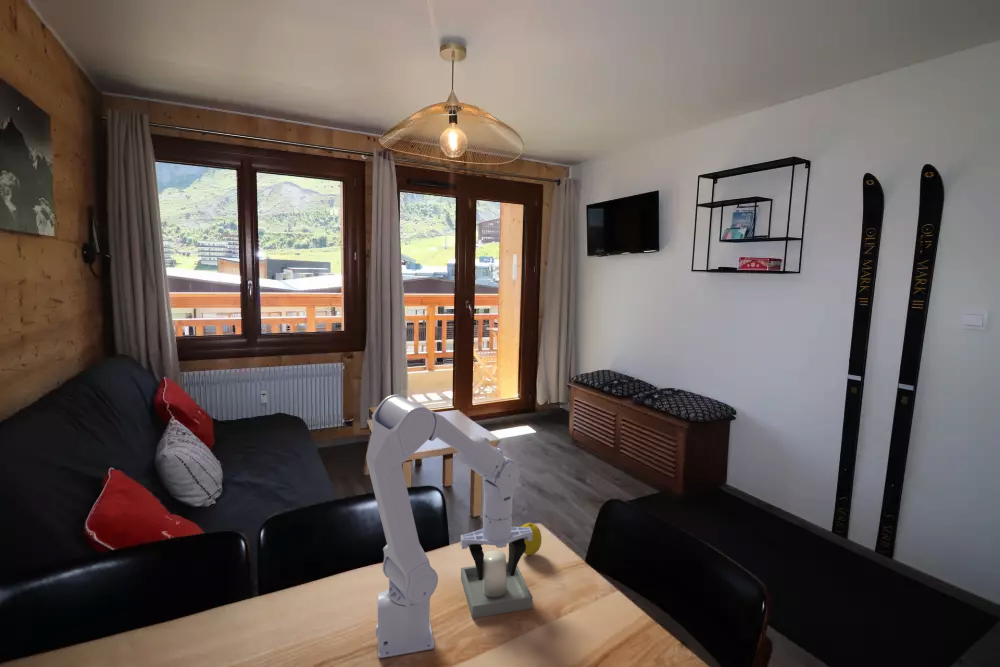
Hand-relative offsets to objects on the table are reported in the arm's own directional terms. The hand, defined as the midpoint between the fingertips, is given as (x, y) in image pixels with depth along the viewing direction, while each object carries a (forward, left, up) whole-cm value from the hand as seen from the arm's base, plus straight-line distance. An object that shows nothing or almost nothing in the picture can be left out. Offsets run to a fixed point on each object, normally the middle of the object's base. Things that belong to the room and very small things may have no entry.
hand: (495, 575), depth 100 cm
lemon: (+11, +11, -4) cm, 16 cm away
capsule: (0, 0, -3) cm, 3 cm away
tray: (0, 0, -4) cm, 4 cm away
